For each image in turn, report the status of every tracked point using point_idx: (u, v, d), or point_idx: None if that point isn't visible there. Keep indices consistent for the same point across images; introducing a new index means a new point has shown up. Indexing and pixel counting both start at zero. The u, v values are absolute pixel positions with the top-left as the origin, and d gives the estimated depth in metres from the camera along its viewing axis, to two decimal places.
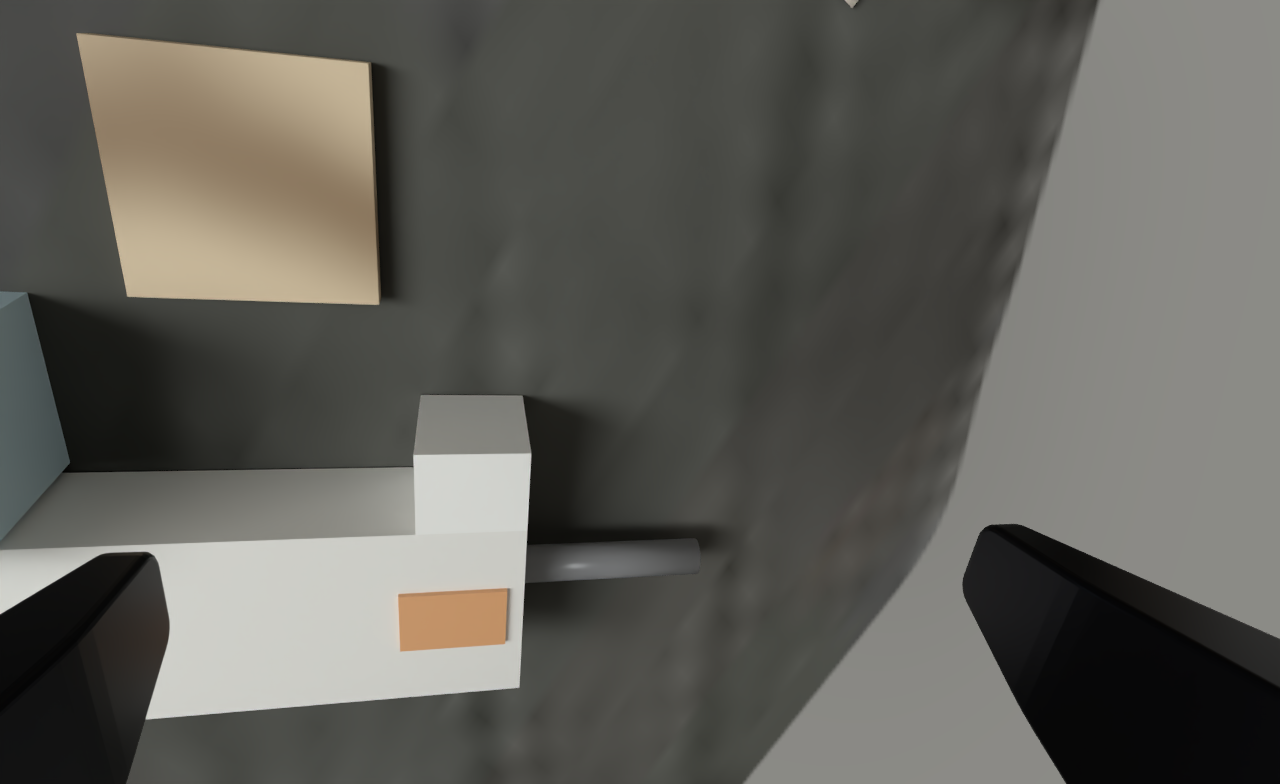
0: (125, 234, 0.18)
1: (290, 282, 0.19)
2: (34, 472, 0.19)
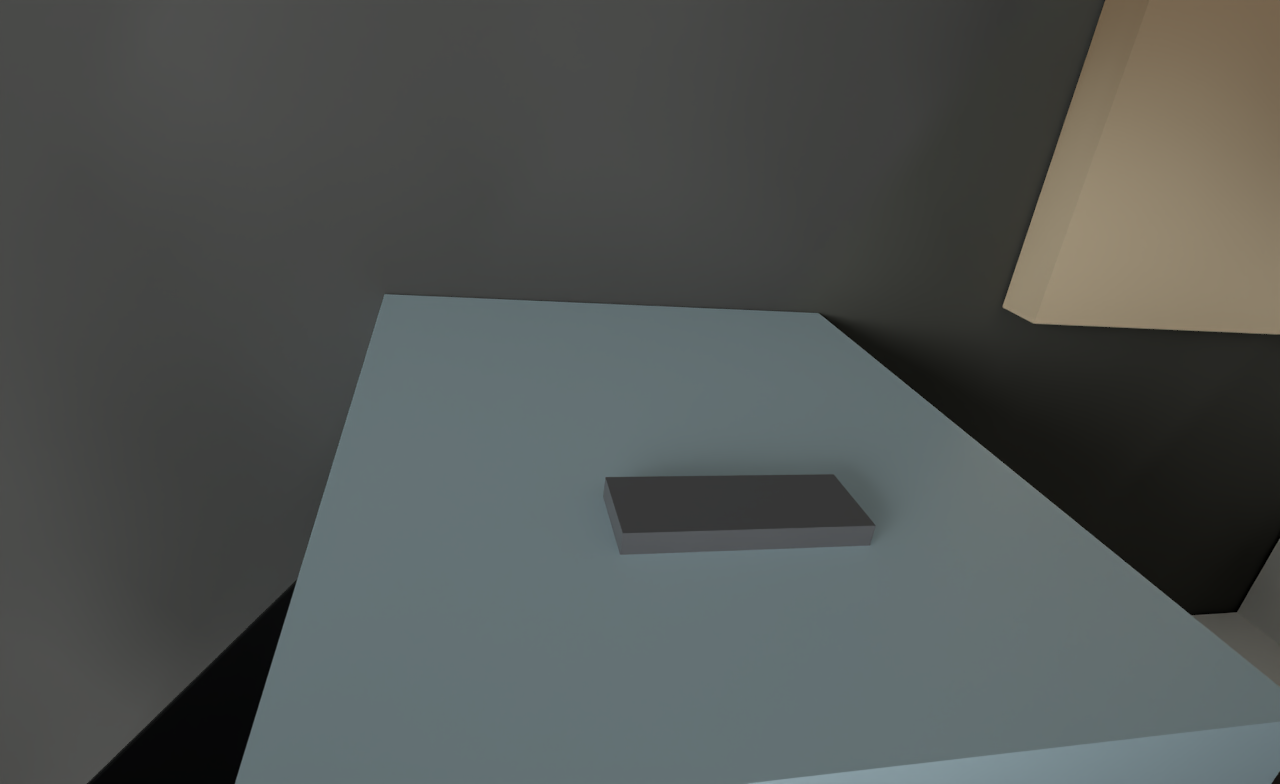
0: (1097, 191, 0.08)
1: None
2: None
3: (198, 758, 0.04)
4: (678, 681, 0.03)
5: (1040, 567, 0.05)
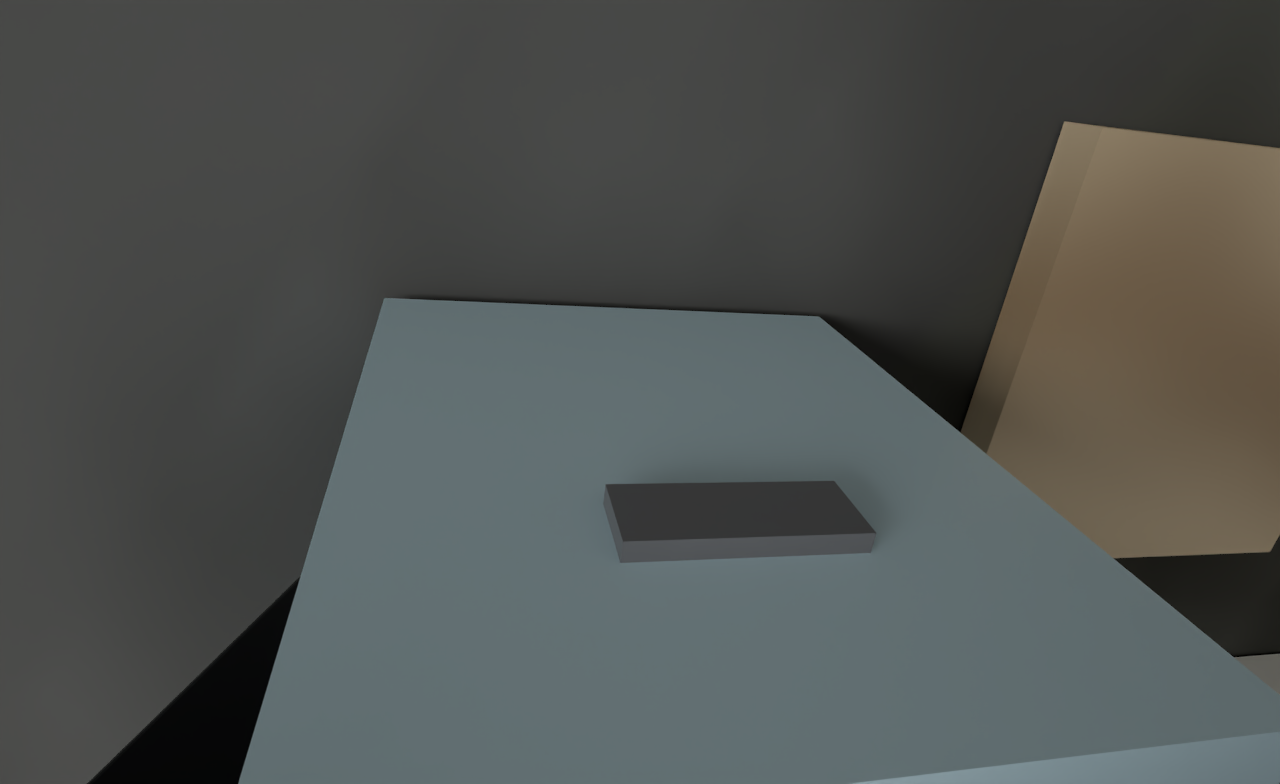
0: None
1: (1176, 527, 0.11)
2: None
3: (198, 758, 0.04)
4: (678, 690, 0.03)
5: (1041, 574, 0.05)
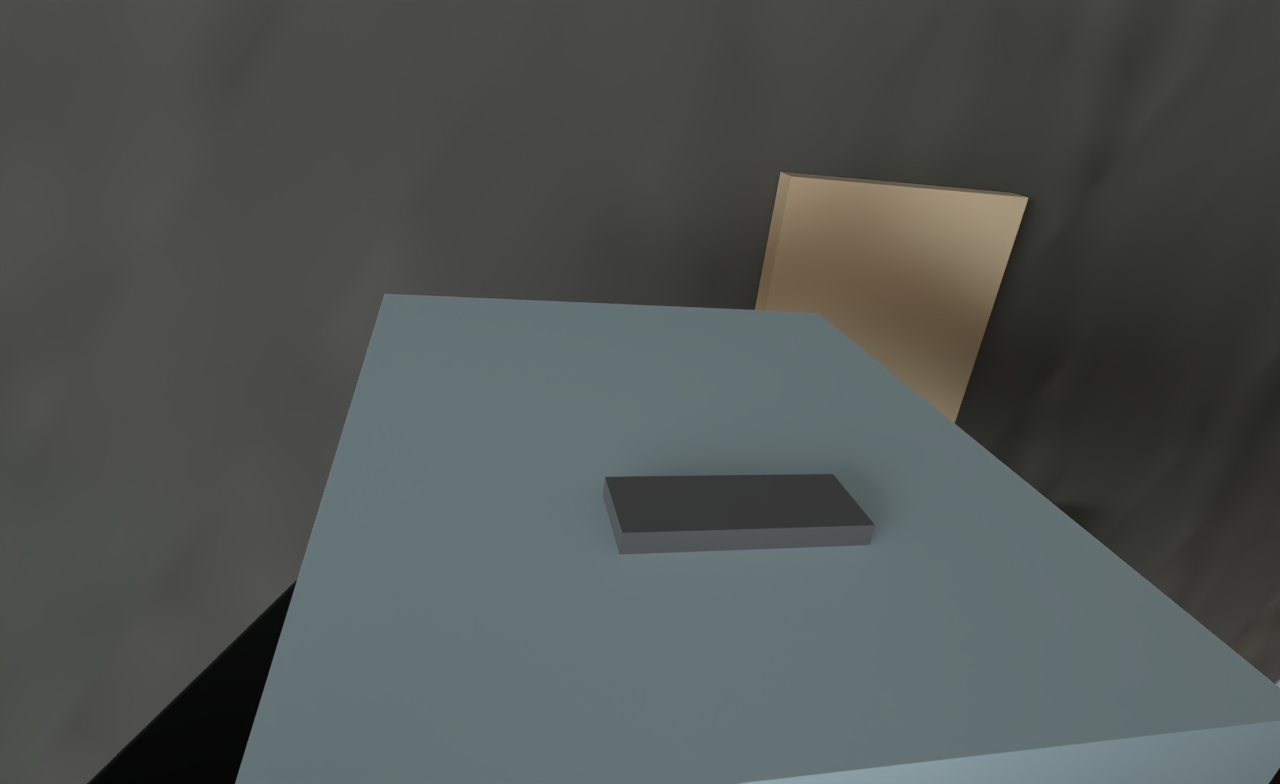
0: None
1: None
2: None
3: (198, 758, 0.04)
4: (678, 680, 0.03)
5: (1039, 567, 0.05)
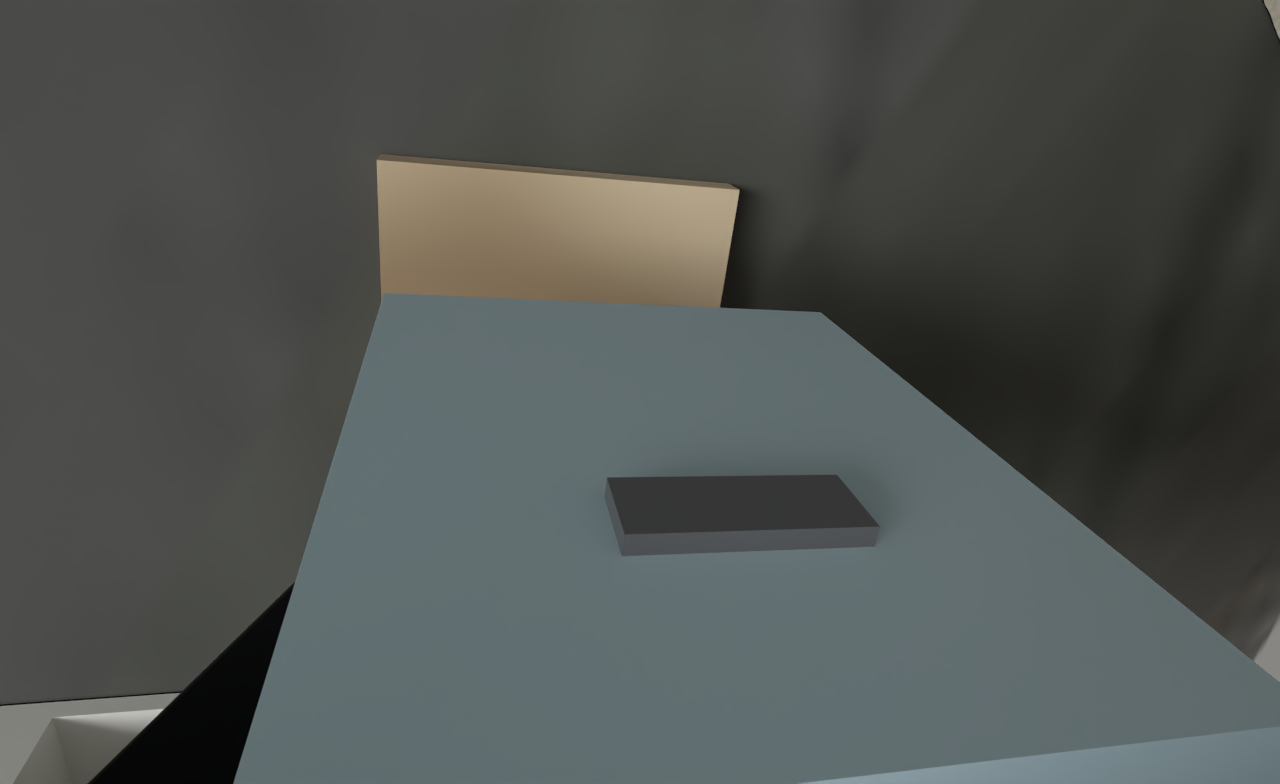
0: None
1: None
2: None
3: (198, 758, 0.04)
4: (683, 684, 0.03)
5: (1047, 569, 0.05)
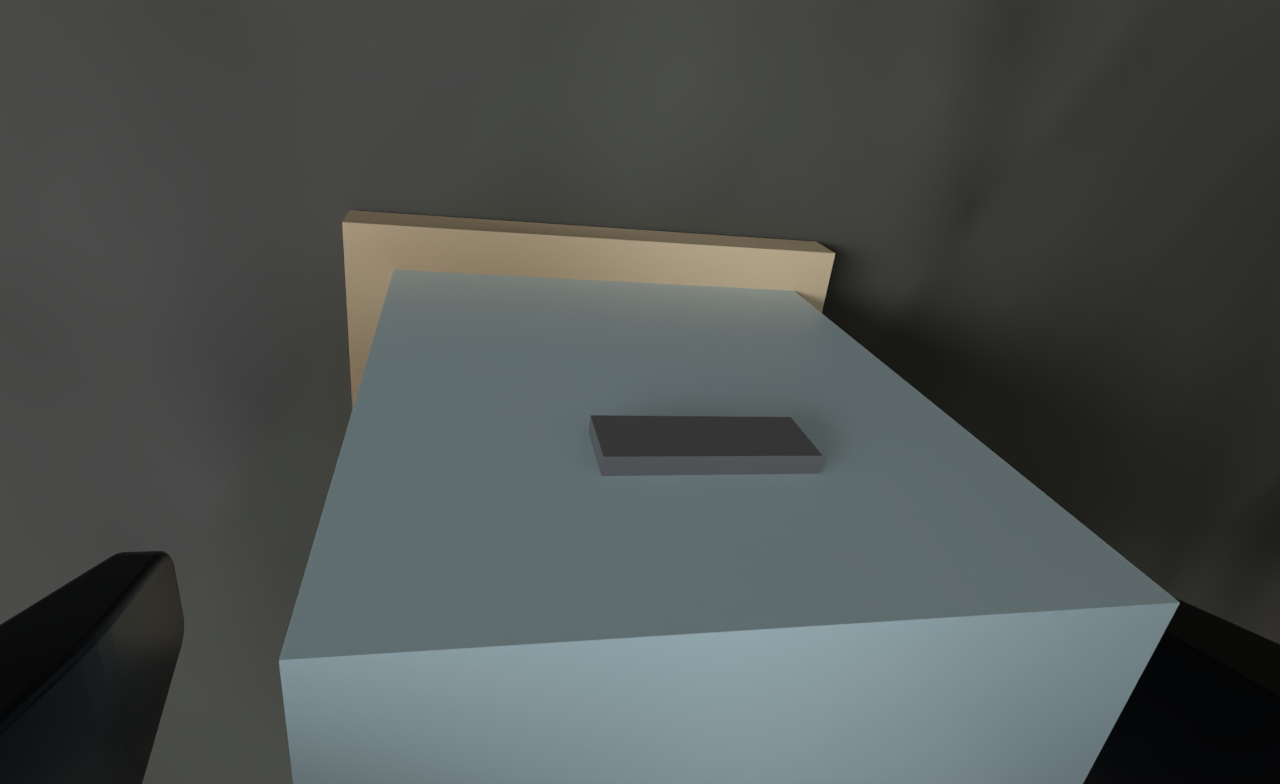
0: None
1: None
2: None
3: None
4: (645, 565, 0.04)
5: (966, 492, 0.05)
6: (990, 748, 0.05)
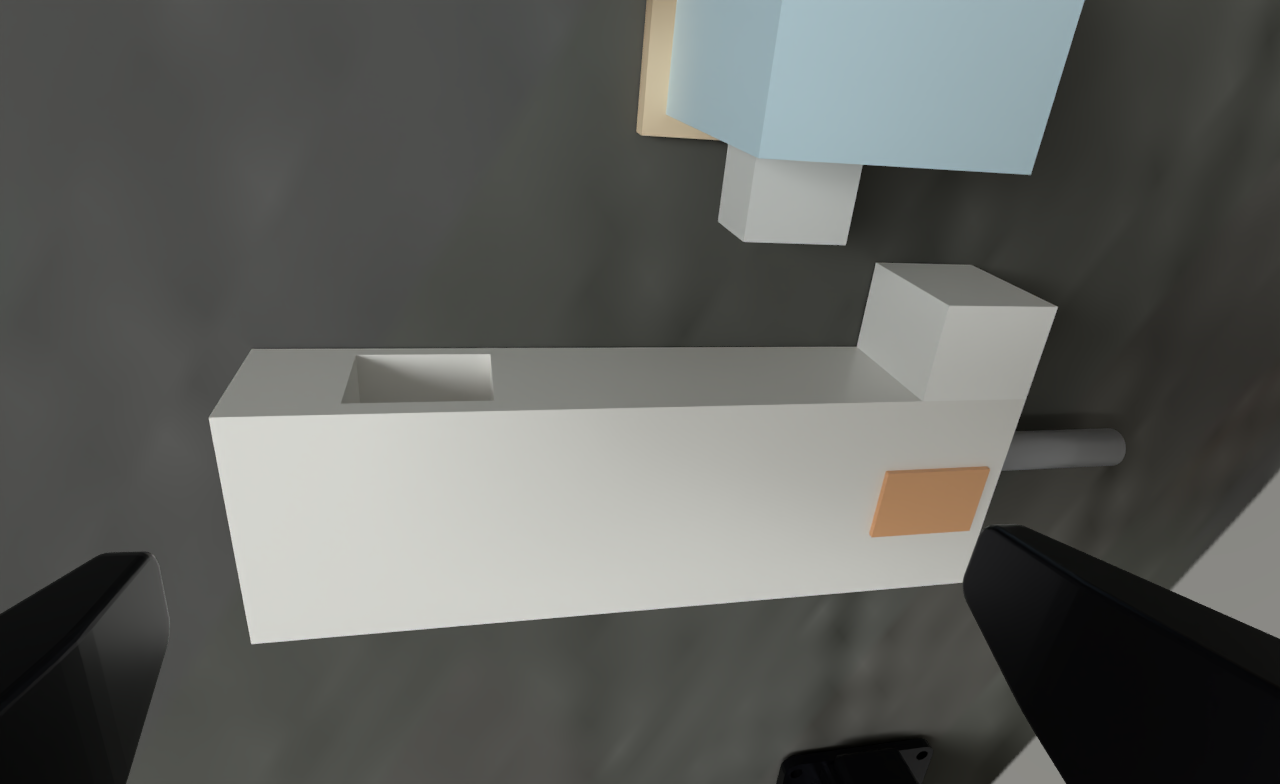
0: (657, 60, 0.16)
1: None
2: None
3: None
4: None
5: None
6: None
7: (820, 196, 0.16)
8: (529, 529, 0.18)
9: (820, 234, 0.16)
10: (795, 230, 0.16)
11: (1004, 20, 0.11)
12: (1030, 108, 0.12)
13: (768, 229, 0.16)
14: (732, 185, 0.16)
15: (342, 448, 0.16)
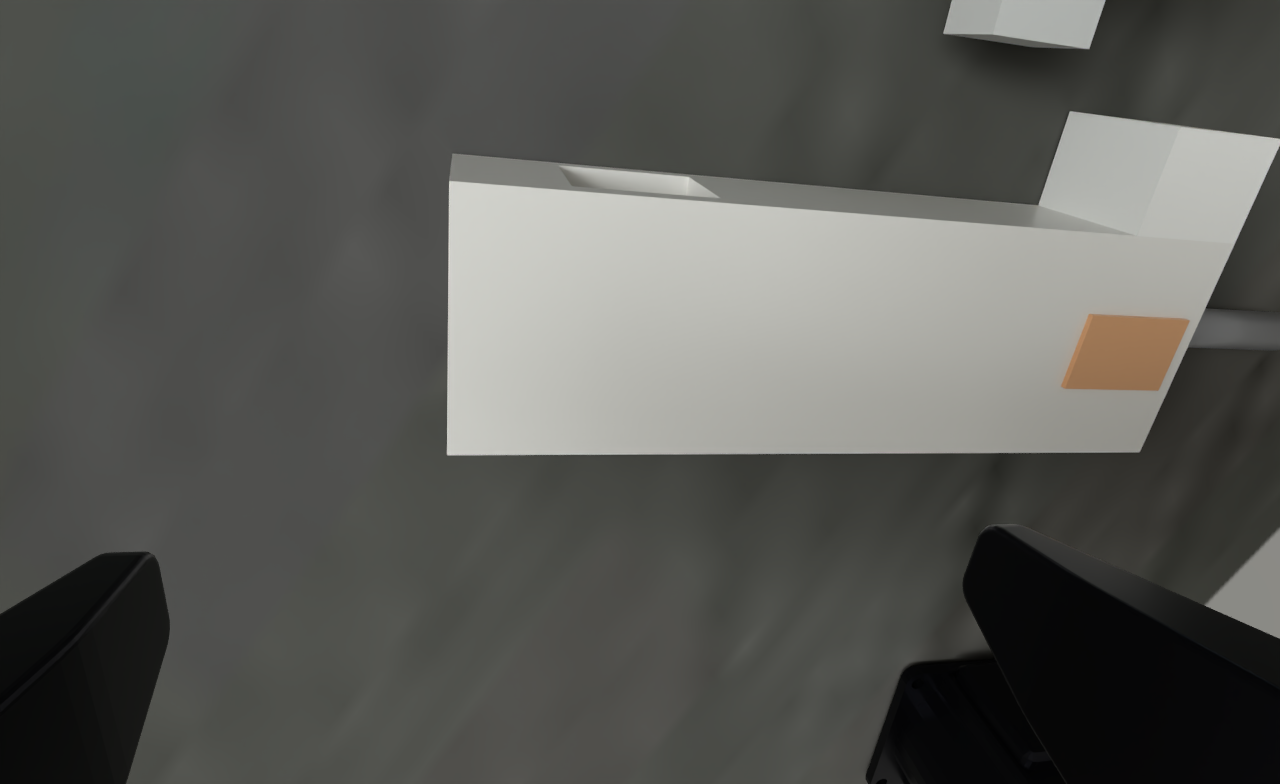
0: None
1: None
2: None
3: None
4: None
5: None
6: None
7: None
8: (737, 346, 0.17)
9: (1067, 33, 0.16)
10: (1044, 26, 0.15)
11: None
12: None
13: (1018, 22, 0.15)
14: None
15: (573, 231, 0.15)
